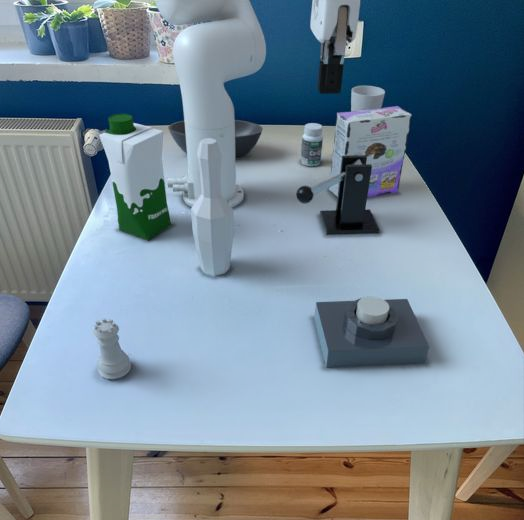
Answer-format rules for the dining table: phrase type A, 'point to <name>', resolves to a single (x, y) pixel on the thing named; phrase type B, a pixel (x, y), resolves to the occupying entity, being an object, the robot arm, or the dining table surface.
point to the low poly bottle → (212, 213)
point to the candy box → (373, 145)
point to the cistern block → (369, 336)
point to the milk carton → (137, 176)
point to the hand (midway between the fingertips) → (328, 91)
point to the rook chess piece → (110, 351)
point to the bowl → (244, 136)
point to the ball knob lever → (320, 186)
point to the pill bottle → (312, 145)
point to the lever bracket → (351, 201)
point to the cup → (366, 98)
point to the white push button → (372, 310)
